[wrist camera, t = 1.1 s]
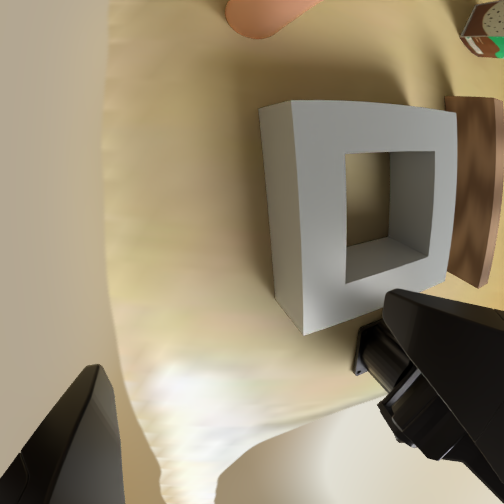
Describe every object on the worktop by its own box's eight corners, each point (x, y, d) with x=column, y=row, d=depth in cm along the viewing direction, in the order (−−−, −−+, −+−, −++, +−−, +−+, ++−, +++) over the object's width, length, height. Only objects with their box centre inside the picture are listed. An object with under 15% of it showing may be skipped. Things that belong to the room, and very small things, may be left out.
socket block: (408, 260, 27) (444, 281, 23) (275, 299, 24) (303, 335, 19) (411, 111, 22) (456, 112, 17) (258, 108, 18) (290, 100, 14)
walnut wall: (448, 262, 30) (487, 283, 24) (438, 266, 29) (478, 288, 24) (455, 98, 23) (502, 101, 17) (444, 96, 22) (494, 98, 17)
